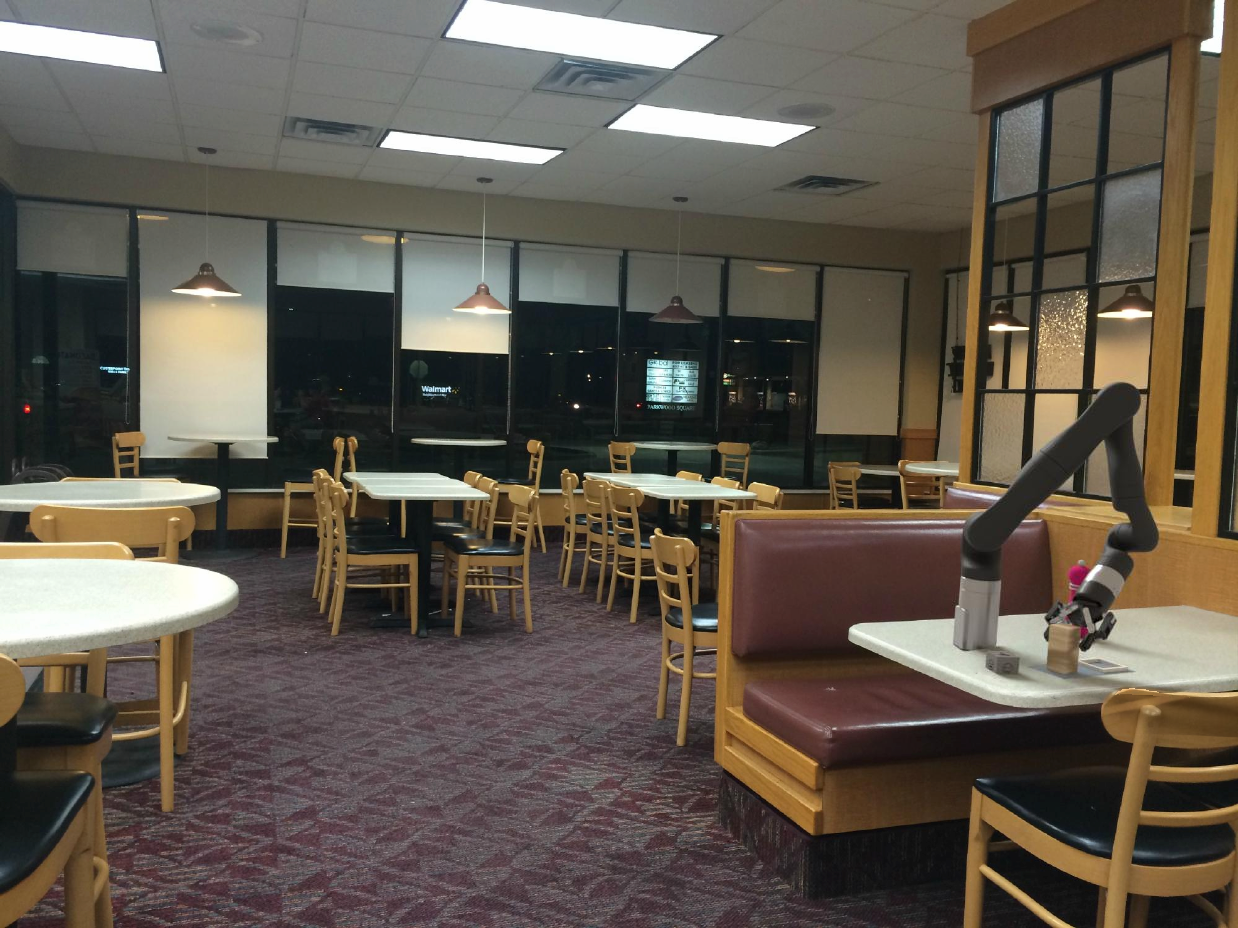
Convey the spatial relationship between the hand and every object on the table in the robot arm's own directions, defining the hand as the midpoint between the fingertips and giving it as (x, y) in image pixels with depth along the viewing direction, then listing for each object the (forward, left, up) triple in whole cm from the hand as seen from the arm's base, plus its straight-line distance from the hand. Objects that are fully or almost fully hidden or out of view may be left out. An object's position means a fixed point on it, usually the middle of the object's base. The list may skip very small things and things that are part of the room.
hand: (1063, 644), depth 212 cm
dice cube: (-14, -2, -7) cm, 16 cm away
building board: (+6, +2, -7) cm, 9 cm away
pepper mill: (+24, +41, -7) cm, 48 cm away
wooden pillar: (0, 0, -6) cm, 6 cm away
